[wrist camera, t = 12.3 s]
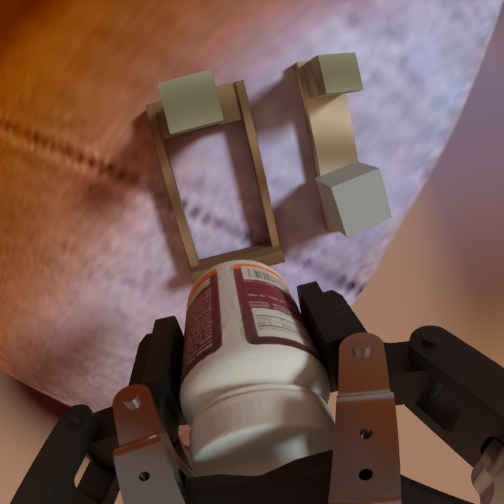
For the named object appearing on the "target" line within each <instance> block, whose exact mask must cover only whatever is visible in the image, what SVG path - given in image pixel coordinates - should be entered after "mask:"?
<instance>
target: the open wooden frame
mask: <svg viewBox="0 0 504 504" xmlns="http://www.w3.org/2000/svg"><path fill="white" fill-rule="evenodd" d="M158 86H159V91H160V95H161V99H162V101H160V102H156V103H152V104H149V105H146V106H145V107H146V111H147V115H148V119H149V123H150V127H151V131H152V135H153V139H154V143H155V146H156V150H157V154H158V158H159V161H160V165H161V169H162V172H163V176H164V179H165V183H166V187H167V190H168V194H169V197H170V200H171V204H172V207H173V211H174V214H175V217H176V221H177V224H178V227H179V231H180V234H181V237H182V240H183V243H184V247H185V250H186V253H187V256H188V259H189V262H190V265H191V272H190V274H191V277H192V280H193V283H194V284H195V283H196V281H197V280H198V279H199V278H200V277H201V276H202V275H203V274H204V273H205V272H206V271H207V270H209V269H210V268H212V267H213V266H216V265H218V264H221V263H224V262H228V261H233V260H252V261H256V262H260V263H262V264H265V265H267V266H271V265H275V264H279V263H283V262H285V260H284V255H283V250H282V249H281V247H280V244H279V239H278V234H277V230H276V225H275V220H274V215H273V210H272V206H271V201H270V196H269V191H268V187H267V182H266V178H265V173H264V168H263V164H262V159H261V155H260V150H259V146H258V141H257V137H256V132H255V128H254V124H253V119H252V115H251V111H250V106H249V102H248V98H247V94H246V89H245V85H244V81H243V80H241V81H237V82H233V83H229V84H224V85H220V86H216V85H215V81H214V77H213V73H212V69H211V70H207V71H202V72H198V73H194V74H191V75H187V76H183V77H179V78H176V79H172V80H169V81H165V82H162V83H159V84H158ZM239 120H243V123H244V127H245V131H246V135H247V140H248V144H249V149H250V153H251V157H252V162H253V166H254V171H255V175H256V179H257V184H258V188H259V193H260V197H261V202H262V207H263V211H264V216H265V220H266V225H267V229H268V234H269V239H270V242H269V243H265V244H261V245H257V246H253V247H249V248H245V249H241V250H237V251H233V252H229V253H225V254H221V255H217V256H213V257H209V258H205V259H201V260H198V256H197V253H196V250H195V247H194V243H193V240H192V237H191V233H190V230H189V227H188V223H187V220H186V216H185V213H184V209H183V206H182V203H181V199H180V195H179V192H178V188H177V185H176V181H175V178H174V174H173V170H172V167H171V163H170V159H169V155H168V152H167V148H166V144H165V139H169V138H172V137H176V136H179V135H183V134H186V133H190V132H194V131H198V130H201V129H205V128H209V127H213V126H217V125H221V124H226V123H230V122H234V121H239Z"/></svg>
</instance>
